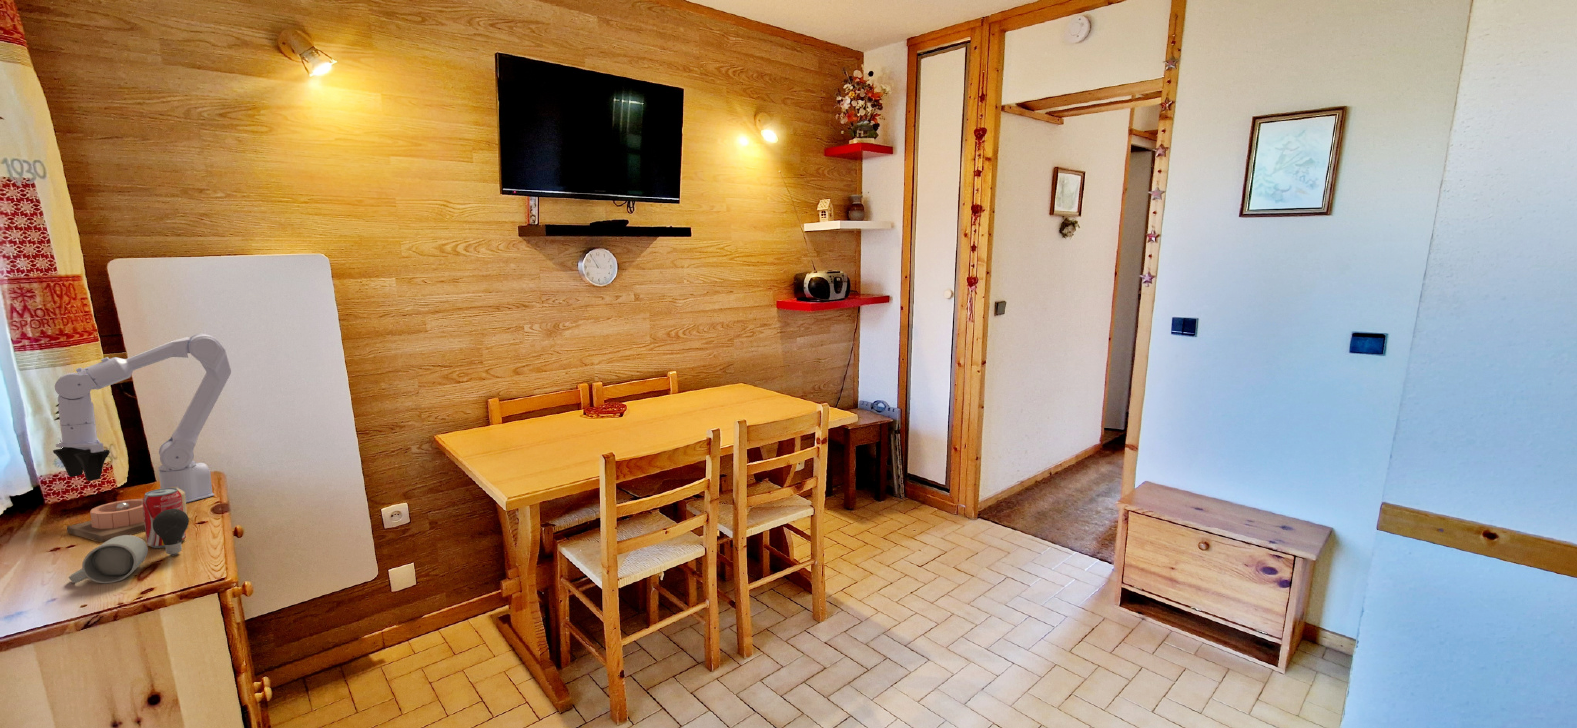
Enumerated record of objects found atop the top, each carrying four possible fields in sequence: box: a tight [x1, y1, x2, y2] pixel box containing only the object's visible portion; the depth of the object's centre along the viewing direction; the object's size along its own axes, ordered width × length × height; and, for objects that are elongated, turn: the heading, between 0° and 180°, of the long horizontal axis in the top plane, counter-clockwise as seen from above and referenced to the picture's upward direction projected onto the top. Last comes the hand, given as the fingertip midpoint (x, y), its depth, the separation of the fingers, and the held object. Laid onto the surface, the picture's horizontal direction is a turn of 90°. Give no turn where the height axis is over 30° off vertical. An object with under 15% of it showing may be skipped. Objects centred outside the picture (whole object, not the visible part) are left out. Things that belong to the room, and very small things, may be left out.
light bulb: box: [152, 509, 190, 557], centre depth 139 cm, size 6×6×10 cm
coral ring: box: [89, 498, 144, 529], centre depth 153 cm, size 10×10×4 cm
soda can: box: [142, 488, 187, 549], centre depth 144 cm, size 6×6×12 cm
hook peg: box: [116, 502, 130, 528], centre depth 153 cm, size 2×8×6 cm, turn 70°
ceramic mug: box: [68, 534, 149, 584], centre depth 129 cm, size 11×8×8 cm
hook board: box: [66, 520, 146, 543], centre depth 154 cm, size 14×14×2 cm
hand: (84, 477), depth 159 cm, fingers open, 7 cm apart
